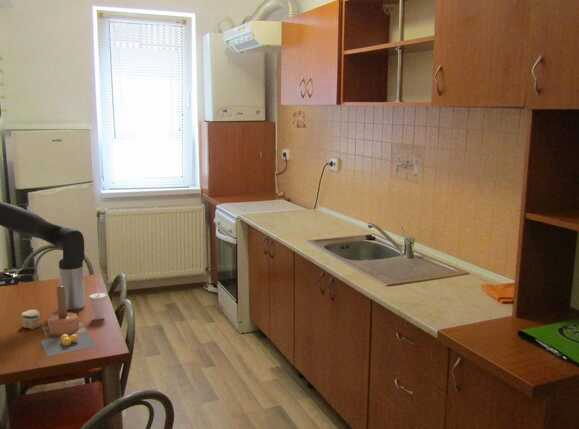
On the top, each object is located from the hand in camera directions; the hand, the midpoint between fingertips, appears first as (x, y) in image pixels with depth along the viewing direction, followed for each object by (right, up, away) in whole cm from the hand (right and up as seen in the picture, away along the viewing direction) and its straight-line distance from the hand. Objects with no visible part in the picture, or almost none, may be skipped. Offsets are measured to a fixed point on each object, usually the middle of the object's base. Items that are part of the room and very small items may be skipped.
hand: (33, 274), depth 202 cm
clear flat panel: (+9, -22, +6) cm, 24 cm away
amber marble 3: (+17, -22, -7) cm, 29 cm away
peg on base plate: (+9, -21, +5) cm, 23 cm away
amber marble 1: (+14, -22, -7) cm, 27 cm away
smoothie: (+18, -20, +18) cm, 32 cm away
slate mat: (+16, -24, -8) cm, 30 cm away
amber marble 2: (+16, -22, -10) cm, 29 cm away
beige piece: (-5, -21, +10) cm, 24 cm away
